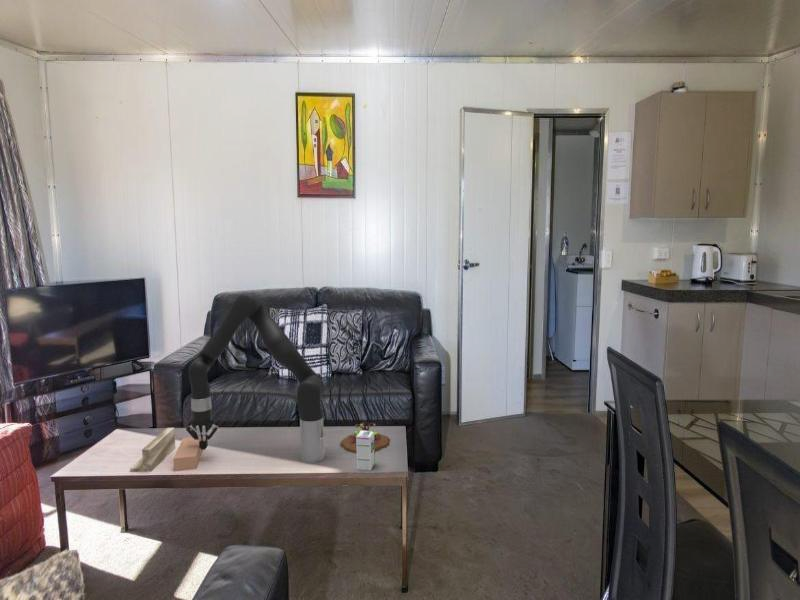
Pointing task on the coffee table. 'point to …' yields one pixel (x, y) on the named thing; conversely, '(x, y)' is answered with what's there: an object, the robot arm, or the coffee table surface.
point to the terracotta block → (187, 454)
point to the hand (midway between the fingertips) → (203, 448)
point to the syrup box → (365, 450)
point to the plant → (350, 440)
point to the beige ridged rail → (156, 451)
